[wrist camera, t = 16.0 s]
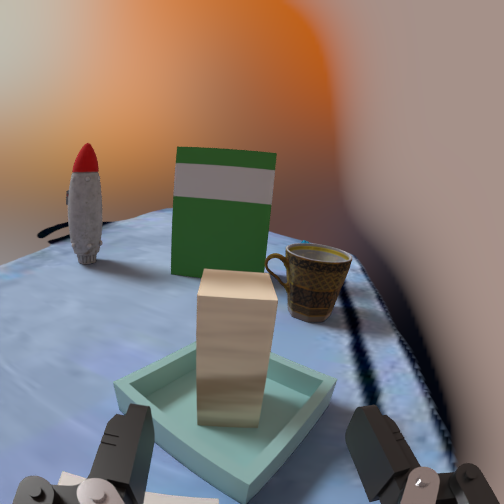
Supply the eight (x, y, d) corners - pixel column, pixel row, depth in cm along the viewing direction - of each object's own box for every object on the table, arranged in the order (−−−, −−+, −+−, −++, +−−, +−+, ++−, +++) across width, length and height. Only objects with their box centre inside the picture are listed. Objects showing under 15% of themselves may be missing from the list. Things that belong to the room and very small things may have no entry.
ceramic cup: (326, 299, 52) (335, 244, 50) (349, 327, 43) (364, 263, 40) (253, 299, 50) (260, 240, 47) (265, 329, 40) (274, 259, 38)
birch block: (257, 427, 22) (278, 300, 19) (197, 424, 22) (197, 295, 18) (253, 390, 27) (268, 273, 24) (201, 387, 26) (204, 268, 23)
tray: (244, 505, 15) (249, 484, 14) (119, 409, 22) (113, 382, 22) (328, 405, 26) (337, 379, 25) (218, 354, 34) (219, 328, 33)
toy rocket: (76, 255, 61) (76, 144, 54) (107, 256, 62) (110, 143, 56) (63, 265, 54) (62, 142, 47) (98, 268, 55) (99, 141, 49)
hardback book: (171, 274, 57) (177, 146, 51) (181, 262, 64) (188, 149, 58) (262, 285, 56) (276, 153, 50) (263, 272, 63) (276, 155, 57)
